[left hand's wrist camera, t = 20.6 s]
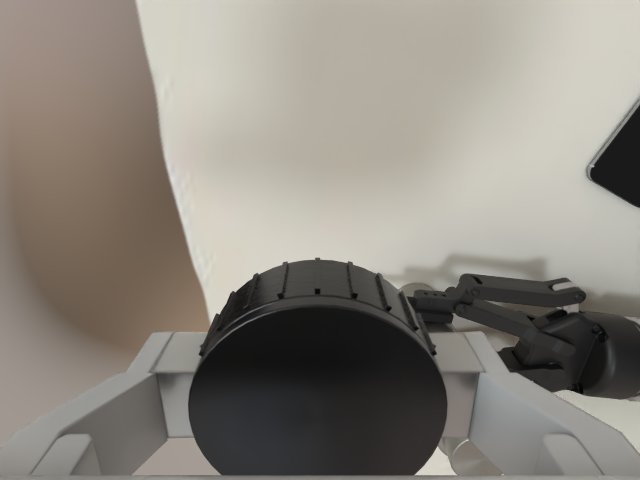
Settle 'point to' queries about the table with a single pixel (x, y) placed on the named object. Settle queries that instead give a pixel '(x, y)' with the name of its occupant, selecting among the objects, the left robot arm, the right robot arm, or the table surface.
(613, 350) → the right robot arm
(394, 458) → the lid
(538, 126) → the table surface
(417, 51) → the table surface
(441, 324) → the jar
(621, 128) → the smartphone
